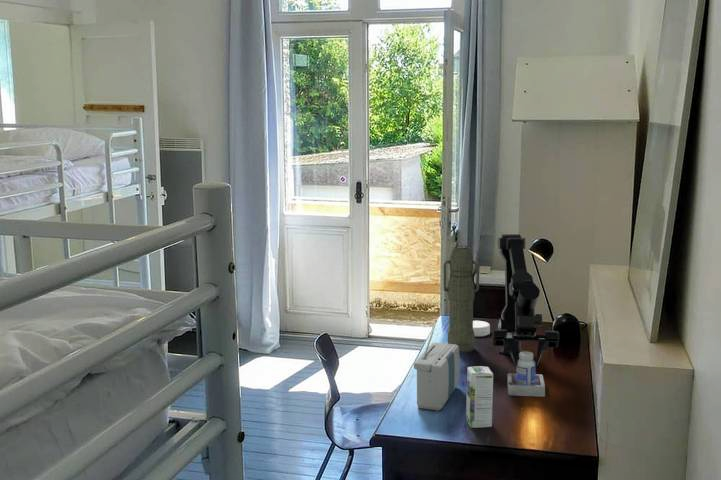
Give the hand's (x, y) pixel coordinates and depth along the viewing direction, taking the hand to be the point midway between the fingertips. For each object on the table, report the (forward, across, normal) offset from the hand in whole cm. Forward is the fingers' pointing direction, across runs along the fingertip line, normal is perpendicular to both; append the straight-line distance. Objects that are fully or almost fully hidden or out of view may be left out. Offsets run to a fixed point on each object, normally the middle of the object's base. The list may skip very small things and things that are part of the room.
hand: (526, 365), depth 220 cm
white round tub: (-34, -14, +47) cm, 60 cm away
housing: (+5, 0, +6) cm, 8 cm away
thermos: (-21, -19, +33) cm, 43 cm away
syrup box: (+23, -13, -12) cm, 29 cm away
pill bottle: (+4, 0, +6) cm, 7 cm away
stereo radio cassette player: (+11, -25, 0) cm, 27 cm away
